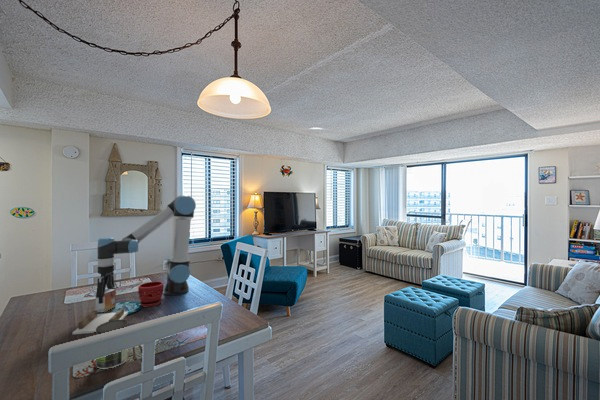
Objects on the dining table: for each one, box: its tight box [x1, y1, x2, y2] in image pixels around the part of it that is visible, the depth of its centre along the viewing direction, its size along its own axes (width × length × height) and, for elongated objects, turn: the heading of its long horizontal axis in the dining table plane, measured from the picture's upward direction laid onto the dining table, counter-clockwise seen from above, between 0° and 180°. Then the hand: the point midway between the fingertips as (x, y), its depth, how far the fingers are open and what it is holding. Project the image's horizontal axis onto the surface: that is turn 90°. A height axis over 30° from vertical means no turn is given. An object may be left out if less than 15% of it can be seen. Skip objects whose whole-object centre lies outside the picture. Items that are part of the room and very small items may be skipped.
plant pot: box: [137, 281, 164, 308], centre depth 163 cm, size 13×13×12 cm
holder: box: [72, 308, 129, 336], centre depth 138 cm, size 20×16×4 cm
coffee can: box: [95, 319, 129, 370], centre depth 106 cm, size 10×10×14 cm
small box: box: [94, 288, 117, 313], centre depth 154 cm, size 8×6×10 cm
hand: (105, 305), depth 154 cm, fingers closed on small box, 9 cm apart
